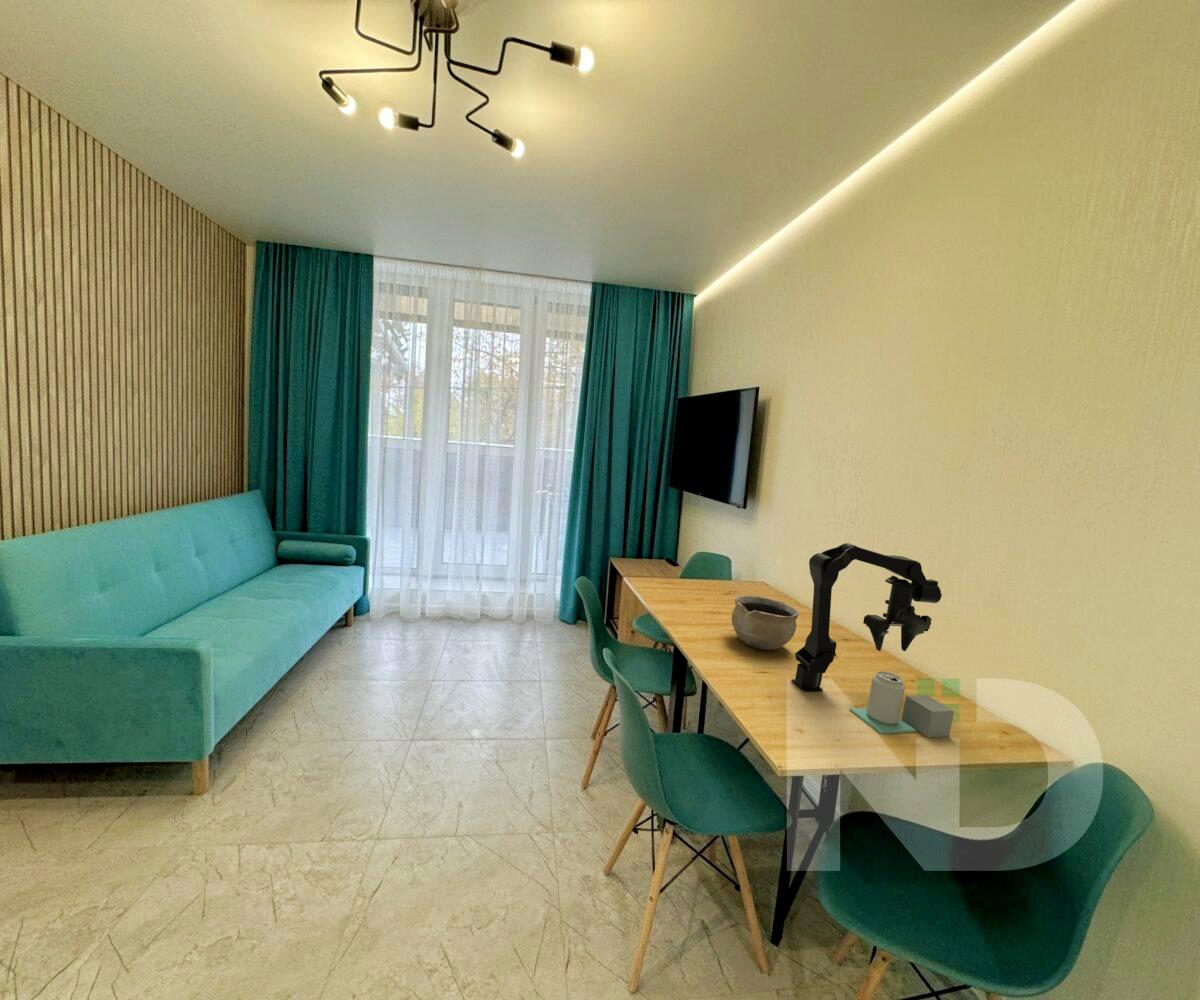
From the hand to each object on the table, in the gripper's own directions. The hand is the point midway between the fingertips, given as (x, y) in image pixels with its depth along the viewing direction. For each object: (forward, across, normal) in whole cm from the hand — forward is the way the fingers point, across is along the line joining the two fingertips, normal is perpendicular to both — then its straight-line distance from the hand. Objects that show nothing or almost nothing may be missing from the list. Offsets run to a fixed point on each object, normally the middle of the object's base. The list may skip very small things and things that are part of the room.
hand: (891, 650), depth 151 cm
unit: (+13, -5, -19) cm, 24 cm away
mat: (+13, -15, -15) cm, 25 cm away
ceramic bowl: (+13, -21, +34) cm, 42 cm away
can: (+13, -15, -15) cm, 25 cm away
